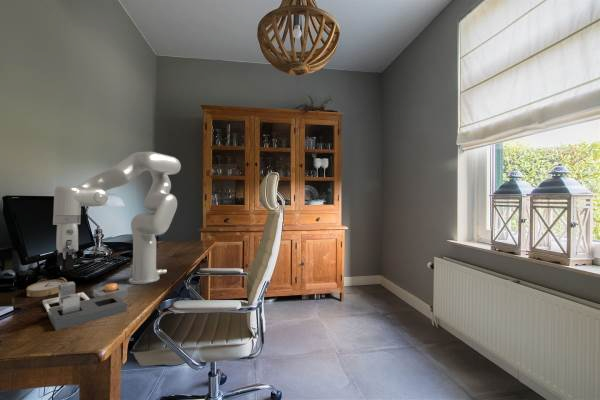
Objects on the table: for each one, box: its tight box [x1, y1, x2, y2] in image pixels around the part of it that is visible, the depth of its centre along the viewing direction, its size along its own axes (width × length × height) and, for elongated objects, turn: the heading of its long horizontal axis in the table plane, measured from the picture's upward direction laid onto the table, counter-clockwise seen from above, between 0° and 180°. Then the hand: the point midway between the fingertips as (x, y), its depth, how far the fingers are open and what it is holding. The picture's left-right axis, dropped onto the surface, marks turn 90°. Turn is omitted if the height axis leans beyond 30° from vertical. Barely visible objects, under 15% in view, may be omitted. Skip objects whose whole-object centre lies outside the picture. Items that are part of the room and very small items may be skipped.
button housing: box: [93, 284, 129, 299], centre depth 105 cm, size 9×9×3 cm
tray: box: [42, 291, 90, 313], centre depth 98 cm, size 12×12×2 cm
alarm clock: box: [26, 277, 68, 298], centre depth 111 cm, size 11×5×15 cm
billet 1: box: [58, 281, 76, 306], centre depth 98 cm, size 4×4×7 cm
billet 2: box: [61, 292, 81, 316], centre depth 86 cm, size 4×4×7 cm
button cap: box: [104, 282, 118, 293], centre depth 105 cm, size 4×4×2 cm
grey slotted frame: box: [48, 294, 128, 331], centre depth 89 cm, size 18×14×3 cm
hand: (65, 267), depth 98 cm, fingers open, 9 cm apart
